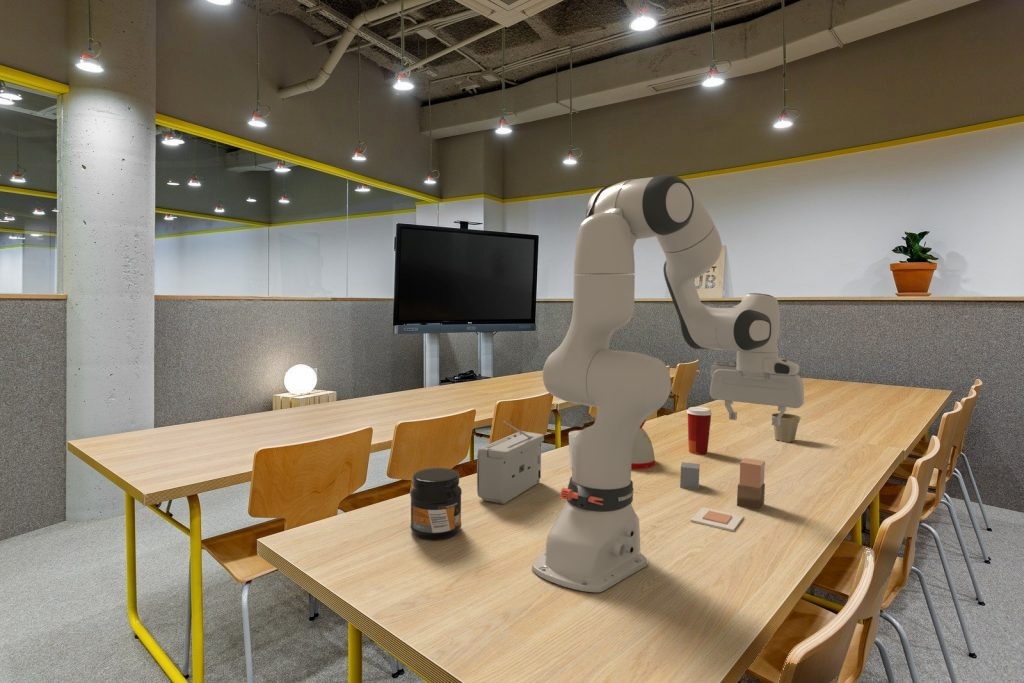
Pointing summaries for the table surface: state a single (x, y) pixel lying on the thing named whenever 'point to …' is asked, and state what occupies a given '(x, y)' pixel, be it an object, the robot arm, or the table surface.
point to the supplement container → (435, 503)
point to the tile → (717, 519)
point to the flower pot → (786, 427)
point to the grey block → (689, 475)
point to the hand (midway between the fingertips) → (753, 422)
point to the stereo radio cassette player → (509, 466)
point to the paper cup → (698, 429)
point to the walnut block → (750, 497)
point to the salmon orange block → (752, 473)
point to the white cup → (571, 439)
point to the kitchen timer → (642, 451)
